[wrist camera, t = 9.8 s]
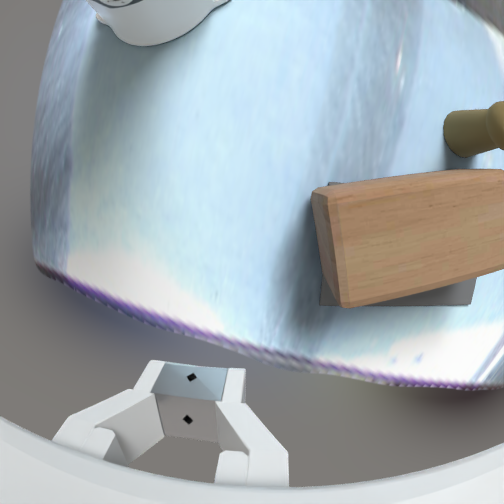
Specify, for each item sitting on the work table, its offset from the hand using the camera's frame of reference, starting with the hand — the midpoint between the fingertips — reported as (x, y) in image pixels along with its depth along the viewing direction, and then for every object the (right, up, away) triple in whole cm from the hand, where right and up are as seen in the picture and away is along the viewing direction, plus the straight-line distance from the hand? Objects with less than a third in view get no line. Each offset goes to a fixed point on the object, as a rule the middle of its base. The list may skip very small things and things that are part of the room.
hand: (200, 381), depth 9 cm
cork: (+28, +19, +20) cm, 39 cm away
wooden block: (+8, +5, +19) cm, 21 cm away
